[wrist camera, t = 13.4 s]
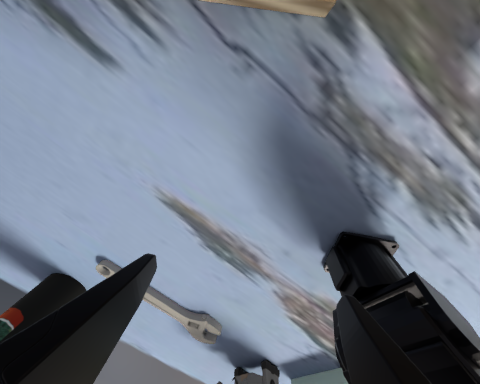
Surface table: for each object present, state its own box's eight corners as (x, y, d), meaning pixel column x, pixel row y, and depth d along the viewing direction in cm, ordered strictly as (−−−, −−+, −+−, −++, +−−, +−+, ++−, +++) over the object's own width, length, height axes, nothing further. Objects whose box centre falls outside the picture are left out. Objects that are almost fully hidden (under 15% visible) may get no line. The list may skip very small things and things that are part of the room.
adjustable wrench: (100, 262, 32) (91, 270, 30) (117, 244, 29) (109, 252, 28) (208, 336, 38) (205, 347, 36) (230, 327, 35) (228, 337, 34)
